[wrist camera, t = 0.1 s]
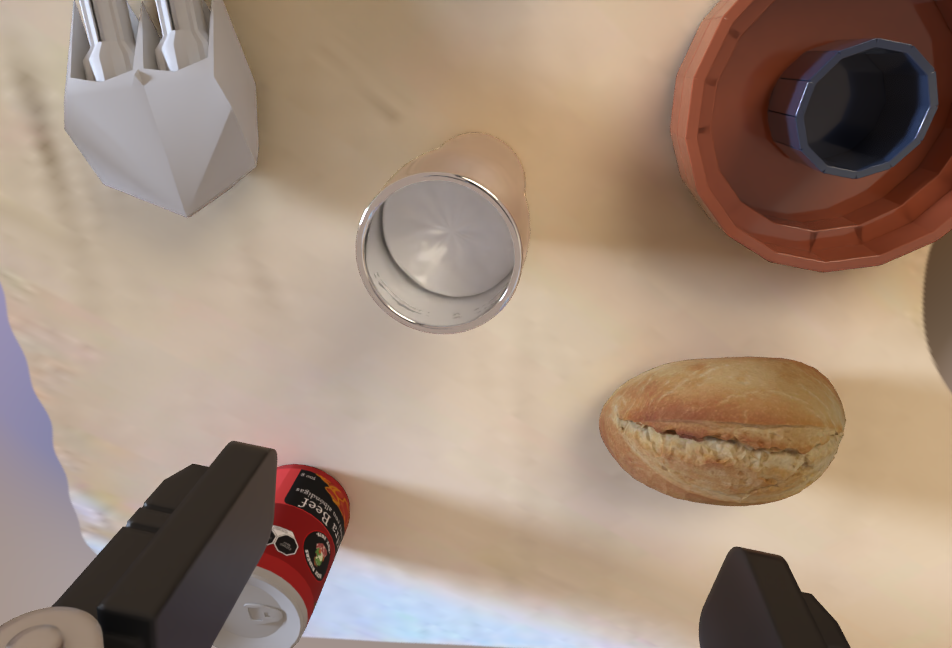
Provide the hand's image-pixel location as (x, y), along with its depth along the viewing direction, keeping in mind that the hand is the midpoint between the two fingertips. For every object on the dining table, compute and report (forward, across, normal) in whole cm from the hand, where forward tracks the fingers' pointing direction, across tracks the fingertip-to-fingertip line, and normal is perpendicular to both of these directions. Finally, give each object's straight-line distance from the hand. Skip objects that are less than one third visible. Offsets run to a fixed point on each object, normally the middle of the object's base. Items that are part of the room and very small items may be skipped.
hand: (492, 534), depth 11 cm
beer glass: (+29, +3, 0) cm, 30 cm away
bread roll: (+29, -15, +11) cm, 35 cm away
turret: (+29, +22, -5) cm, 37 cm away
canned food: (+29, +12, +27) cm, 42 cm away
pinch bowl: (+29, -15, -8) cm, 33 cm away
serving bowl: (+29, -15, -8) cm, 34 cm away
